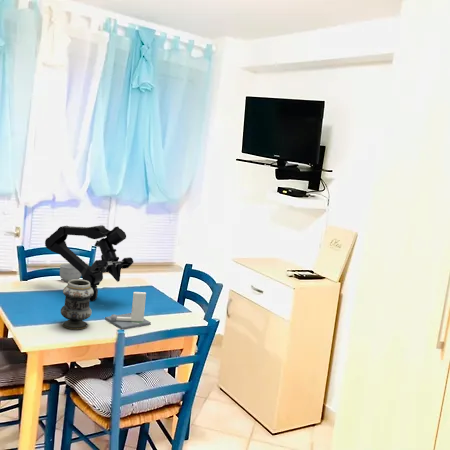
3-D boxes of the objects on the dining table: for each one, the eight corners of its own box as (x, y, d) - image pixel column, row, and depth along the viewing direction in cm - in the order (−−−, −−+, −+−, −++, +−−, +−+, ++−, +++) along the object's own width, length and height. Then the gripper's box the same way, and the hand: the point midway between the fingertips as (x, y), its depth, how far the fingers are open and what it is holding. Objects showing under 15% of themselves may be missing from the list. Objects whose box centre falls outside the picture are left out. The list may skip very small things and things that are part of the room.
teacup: (61, 283, 268) (62, 268, 267) (56, 277, 277) (58, 262, 276) (89, 283, 274) (90, 268, 273) (84, 277, 284) (85, 262, 283)
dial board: (105, 319, 227) (105, 316, 227) (132, 314, 237) (133, 312, 237) (122, 329, 218) (122, 327, 218) (150, 324, 228) (150, 322, 228)
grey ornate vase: (90, 331, 212) (94, 287, 209) (58, 330, 210) (61, 285, 207) (91, 320, 224) (94, 278, 221) (60, 319, 221) (64, 276, 218)
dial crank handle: (110, 318, 225) (113, 290, 223) (142, 320, 228) (145, 292, 226) (111, 320, 223) (113, 292, 221) (143, 322, 226) (146, 294, 224)
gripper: (117, 257, 255) (128, 287, 249) (81, 261, 242) (91, 292, 236) (128, 245, 248) (139, 275, 242) (91, 248, 235) (102, 280, 229)
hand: (118, 281), depth 237 cm, fingers closed
